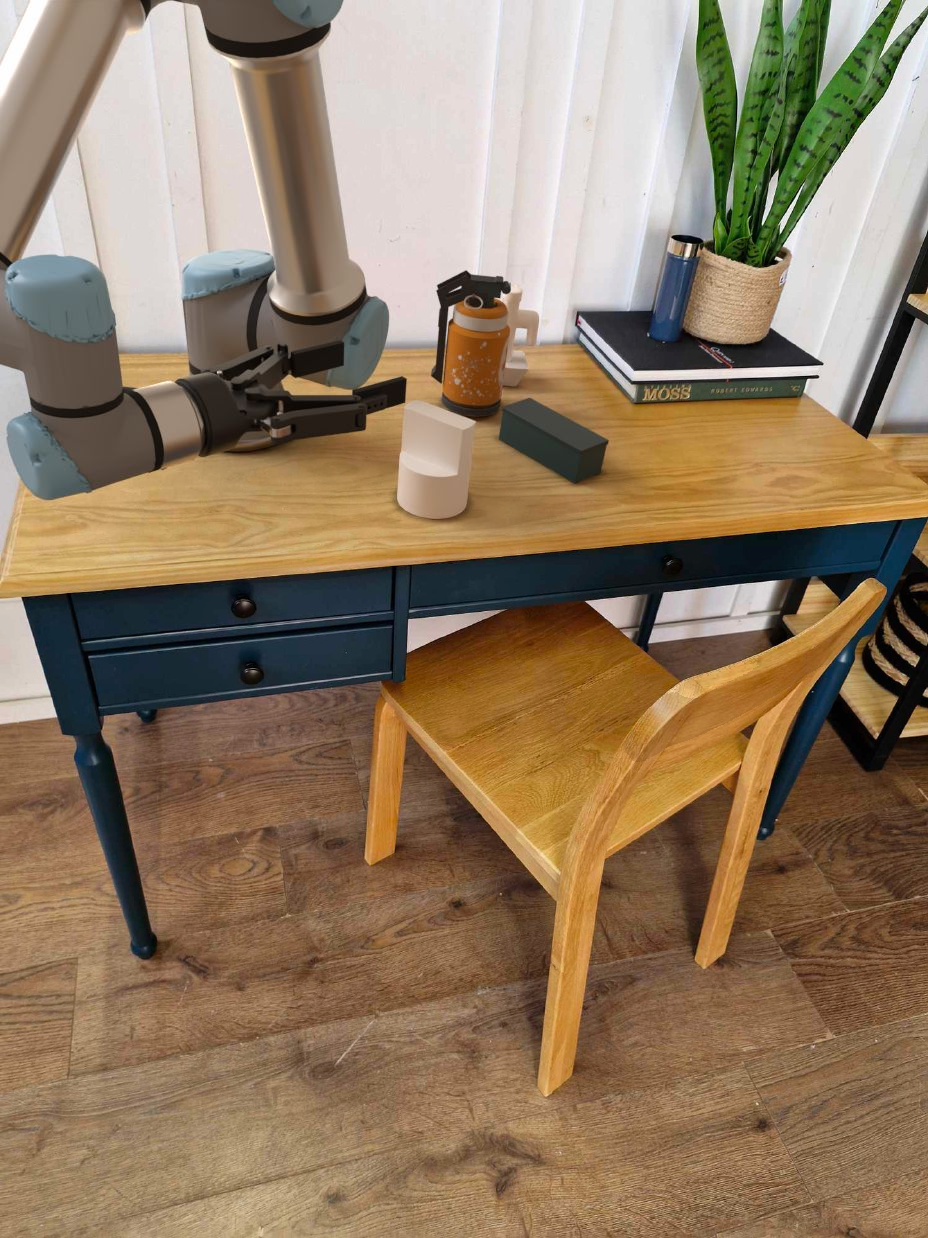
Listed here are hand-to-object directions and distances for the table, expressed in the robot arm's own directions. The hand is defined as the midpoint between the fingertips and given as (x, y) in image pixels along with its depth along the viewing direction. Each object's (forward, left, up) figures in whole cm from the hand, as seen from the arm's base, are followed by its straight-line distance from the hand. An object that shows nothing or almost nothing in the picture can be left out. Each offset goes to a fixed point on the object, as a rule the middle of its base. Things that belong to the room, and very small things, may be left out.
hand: (372, 370), depth 100 cm
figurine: (-22, +45, -20) cm, 54 cm away
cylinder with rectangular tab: (0, +11, -20) cm, 23 cm away
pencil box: (0, +33, -20) cm, 38 cm away
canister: (-18, +33, -20) cm, 42 cm away
